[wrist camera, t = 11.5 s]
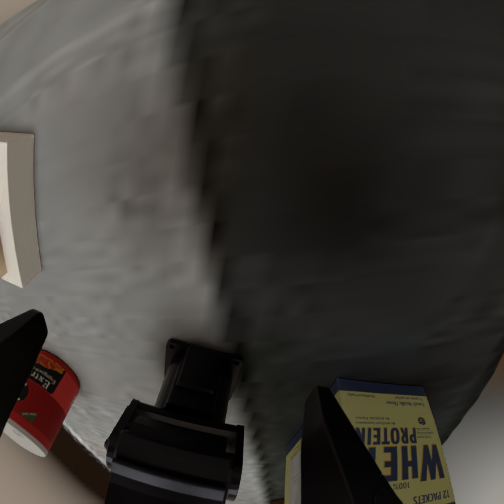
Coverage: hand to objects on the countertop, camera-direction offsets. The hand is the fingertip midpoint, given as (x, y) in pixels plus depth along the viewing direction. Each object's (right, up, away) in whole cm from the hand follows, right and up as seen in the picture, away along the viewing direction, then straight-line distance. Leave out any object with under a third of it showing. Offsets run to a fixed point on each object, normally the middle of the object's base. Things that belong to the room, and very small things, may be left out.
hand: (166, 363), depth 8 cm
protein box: (+13, -15, +21) cm, 29 cm away
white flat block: (-20, +8, +11) cm, 24 cm away
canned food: (-22, -11, +22) cm, 33 cm away
